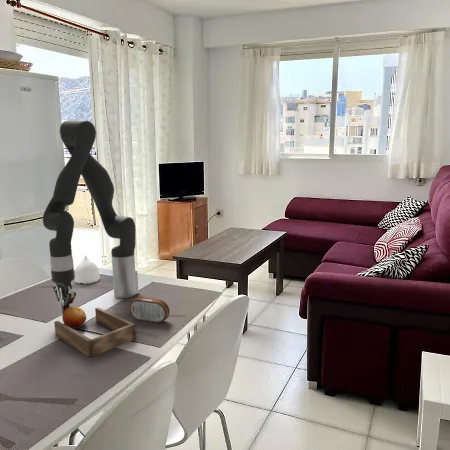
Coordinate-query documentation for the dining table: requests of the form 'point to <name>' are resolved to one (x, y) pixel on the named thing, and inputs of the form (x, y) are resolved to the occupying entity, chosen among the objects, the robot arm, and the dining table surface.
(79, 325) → the fruit
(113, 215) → the robot arm
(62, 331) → the wooden u-shaped frame
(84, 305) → the dining table surface
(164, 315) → the tin
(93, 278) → the teardrop
